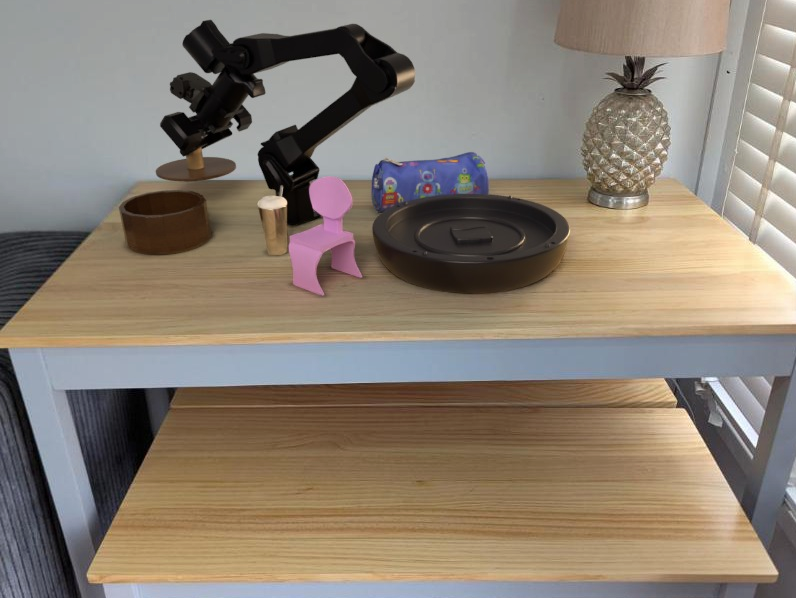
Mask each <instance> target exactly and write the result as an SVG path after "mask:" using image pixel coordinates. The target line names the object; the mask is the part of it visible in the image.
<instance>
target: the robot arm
mask: <svg viewBox="0 0 796 598" xmlns="http://www.w3.org/2000/svg"><path fill="white" fill-rule="evenodd" d="M181 43H182V47H183V48H184V50H185V51H186V52H187V53H188V54H189V56H190V57H191V58H192V59H193V60H194V61H195V63H196V65H198V66H199V68H201V70H202V71H203V72H204V73H205V74H211V73H212V74H213V75H217V77H216V78H215V80H214V81H213V83H211V82H210V81H208V80H207V79H205V78H204V77H202V76H200V75H199V74H198V73H196V72H194V71H193V72H192V71H188V72H185V73H181V74H177V75H176V76H175V77H174V76H173V79H172V80H171V81H170V82H169V91H170V94H171V95H173V96H174V97H176V98H178V99H180V100H184V101H186V102H187V103H189V106H188V109H189V110H190V111H191V112H192V113H193V114H194V113H195V115H193V116H189V117H188V116H187V114H186V113H185V112H184V111H176V112H173V113H170V114H166V115H164V116H163V118H162V119H161V121H160V123H159V127H160V128H161V130H162V131H163V132H164V133H165V134H166V136H167V137H168V138H169V139H170V140H171V141H172V142H173V143H174V144H175V146H176V147H177V148H178V149H179V154H180V155H181V156H182V157H186V155H188V154H190V153H192V152H194V151H195V150H197V149H199V148H202V150H205V149H206V148H208V147H210V146H212V145H214V144H216V143H218V142H220V141H223V140H224V139H227V138H229V137H231V136H232V135H233V132H232V130H231V129H230V128H231V127H232V126H233V125H234V123H233V122H232V120H234V121H236V123H237V124H238V125H237V126H236V130H237V132H238V133H241V132H243V131H246V130H248V129H249V128H250V126H251V125H252V123H253V118H252V117H253V116H252V114H251V113H250V112H249V110H248V109H247V108H246V107H245V105H244V104H243V103H244V102H246V100H247V98H248V97H250V98H251V99H254V98H258V97H262V96H265V95H266V94H267V93H266V88H265V86H264V83H263V82H264V80H263V79H262V78H258V77H257V76H256V75H255V74H257V73H261V72H265V71H269V70H272V69H275V68H278V67H280V66H282V65H285V64H288V63H289V62H294V61H300V60H307V59H313V58H320V57H329V56H333V55H340V56H341V58H342V59H344V62H345V63H346V64H347V66H348V68H349V70H350V72H351V73H352V74H353V75H354V76H355V79H354V81H353V83H352V84H351V87H350V88H349V89H348V90H347V91H346V92H344V93H343V94H342V95H341V96H339V97H338V98H337V99H335V100H334V101H333V102H331V104H329V105H328V106H326V107H325V108H324V109H323V110H322V111H320V112H319V113H317V114H316V115H315V116H313V118H311V119H310V120H309V121H308V122H306V123H305V124H304V125H302V126H301V127H300V128H299V129H298V126H297V125H296V124H293V125H290V126H288V127H285V128H283V129H279V130H277V131H275V132H274V133H273V134H272V135H271V136H270V137H269V139H267V140H265V141H263V142H260V146H261V148H260V149H259V150H258V152H257V161H258V162H257V163H258V166H259V168H260V170H261V174H262V176H263V178H264V181H265V183H266V185H267V188H268V189H269V190H273V191H275V196H279V194H280V186H281V185H282V186H283V191H282V197H283V198H285V199H286V201H287V225H290V226H298V225H301V224H304V223H307V222H310V221H313V220H317V219H319V218H321V217H322V215H320V214H319V213H318V212H316V211H315V210H314V209H313V207H312V203H311V199H310V195H309V188H310V185H311V183H312V182H314V181H315V180H317V179H319V174H320V167H319V166H318V165H317V164H316V163H315V161H314V160H313V159H312V158H311V157H312V156H313V154H314V152H315V150H316V148H317V147H318V146H320V145H322V144H323V143H324V142H325V141H327V140H328V139H329V138H331V137H332V136H334V135H335V134H336V133H338V132H339V131H340V130H342V129H343V128H344V127H346V126H347V125H348V124H349V123H351V122H352V121H353V120H355V119H356V118H358V117H359V116H361V115H362V114H363V113H364V112H366V111H367V110H369V109H370V108H371V107H373V106H375V105H377V104H379V103H381V102H384V101H386V100H388V99H391V98H393V97H395V96H398V95H400V94H401V93H404V92H406V91H408V90H410V89H411V88H412V87H413V85H414V84H415V81H416V80H415V79H416V69H415V66H414V64H413V61H412V60H411V59H410V57H408V56H407V55H405V54H404V53H400V52H397V51H396V50H395V49H394V48H393V47H392V46H391V45H389V44H388V43H387V42H384V41H383V40H380V39H379V38H377V37H375V36H373V35H372V34H370V32H369V31H367V29H365V28H364V27H363V26H361V25H359V24H358V23H349V24H344V25H340V26H337V27H335V28H329V29H323V30H317V31H312V32H311V31H310V32H306V33H300V34H293V35H284V34H279V33H267V32H262V33H254V34H251V35H247V36H242V37H237V38H236V39H234V40H233V41H232V43H230V42H229V40H228V39H227V38H226V37H225V35H224V34H223V33H222V32H221V31H220V30H219V28H218V26H217V25H216V24H215V22H214V21H213V20H212V19H206V20H202V21H201V23H200V25H198V26H196V27H194V29H192V30H191V31H190V32H189V33H187V34H185V36H184V37H183V40H182V42H181Z"/></svg>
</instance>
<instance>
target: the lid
mask: <svg viewBox="0 0 796 598" xmlns="http://www.w3.org/2000/svg"><path fill="white" fill-rule="evenodd" d="M236 169H237V164H236V162H235V161H234V160H232V159H229V158H225V157H219V156H204V155H203V149H202V148H199V149H197V150H195V151H194V152H192V153H190V154H188V155H186V156H185V158H181V159H176V160H172V161H169V162H165V163H163V164H161V165H160V166H157V168H156V169H155V175H156V176H157V177H158V178H159V179H161V180H165V181H170V182H184V183H185V182H186V183H190V182H202V181H209V180H213V179H219V178H221V177H224V176H227V175H229V174H231V173H233V172H235V170H236Z"/></svg>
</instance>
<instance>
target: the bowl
mask: <svg viewBox="0 0 796 598" xmlns="http://www.w3.org/2000/svg"><path fill="white" fill-rule="evenodd" d="M118 212H119V215H120V221H121V224H122V225H121V226H122V231H123V234H124V235H123V236H124V239H125V243H126V246H127V248H128V249H129V250H130V251H132V252H134V253H136V254H142V255H148V256H165V255H174V254H179V253H185V252H188V251H192V250H194V249H195V250H196V249H197V248H199V247H201V246H204V245H205V244H206V243H208V242H209V241H210V239H211V234H212V232H211V231H212V229H211V224H210V217H209V209H208V203H207V198H206V197H205V196H204V195H203V193H200V192H196V191H191V190H182V189H171V190H170V189H169V190H167V189H166V190H156V191H150V192H146V193H145V192H144V193H142V194H139V195H135V196H132V197H129V198H128V199H126V200H124V201H123V202H121V204H120V205H119V206H118Z"/></svg>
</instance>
